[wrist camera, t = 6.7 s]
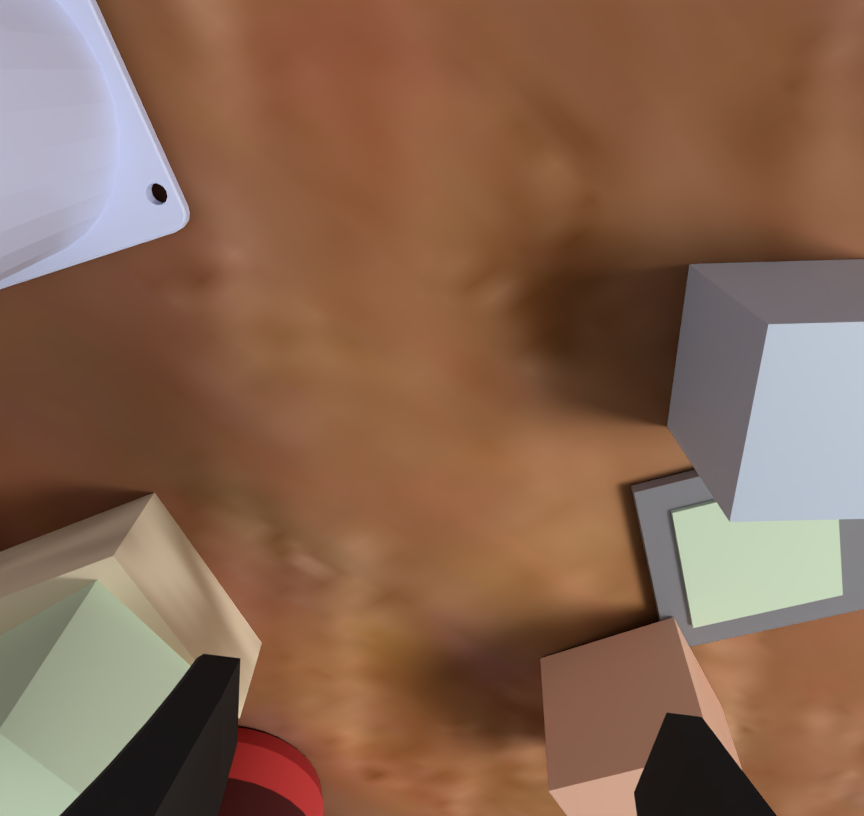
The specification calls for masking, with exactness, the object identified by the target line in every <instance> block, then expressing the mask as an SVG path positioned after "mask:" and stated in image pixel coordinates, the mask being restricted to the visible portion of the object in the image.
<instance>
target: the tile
mask: <svg viewBox="0 0 864 816" xmlns="http://www.w3.org/2000/svg"><path fill="white" fill-rule="evenodd" d="M631 490H632V495H633V499H634V504H635V509H636V514H637V518H638V523H639V528H640V533H641V537H642V542H643V547H644V552H645V556H646V561H647V566H648V571H649V575H650V580H651V585H652V590H653V595H654V599H655V604H656V609H657V614H658V618H659V622H660V621H663V620H666V619H669V618H672V617H674V619H675V621H676V622H677V624H678V626H679V628H680V630H681V632H682V634H683V636H684V637H685V639H686V641H687V643H688V645H689V647H691V646H696V645H700V644H705V643H709V642H714V641H719V640H723V639H728V638H732V637H737V636H742V635H746V634H751V633H755V632H760V631H765V630H769V629H774V628H778V627H783V626H788V625H792V624H797V623H801V622H806V621H810V620H815V619H820V618H824V617H829V616H833V615H838V614H843V613H847V612H852V611H856V610H861V609H864V519H836V520H793V521H751V522H729V520H728V519H727V517H726V516H725V514H724V513H723V511H722V510H721V508H720V507H719V505H718V504H717V502H716V501H715V499H714V497H713V496H712V494H711V493H710V491H709V490H708V488H707V487H706V485H705V484H704V482H703V481H702V479H701V478H700V476H699V475H698V473H697V472H696V470H692V471H688V472H684V473H680V474H676V475H672V476H668V477H664V478H660V479H656V480H652V481H648V482H644V483H640V484H636V485H632V486H631Z"/></svg>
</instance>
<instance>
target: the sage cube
mask: <svg viewBox="0 0 864 816" xmlns="http://www.w3.org/2000/svg"><path fill="white" fill-rule="evenodd" d="M189 668H190V665H189V664H188V663H187V662H186V661H185V660H184V659H183V658H182V657H180V656H179V655H178V654H177V653H176V652H175V651H174V650H173V649H172V648H171V647H170V646H169V645H167V644H166V643H165V642H164V641H163V640H162V639H161V638H160V637H159V636H158V635H157V634H156V633H154V632H153V631H152V630H151V629H150V628H149V627H148V626H147V625H146V624H145V623H144V622H143V621H142V620H140V619H139V618H138V617H137V616H136V615H135V614H134V613H133V612H132V611H131V610H130V609H129V608H127V607H126V606H125V605H124V604H123V603H122V602H121V601H120V600H119V599H118V598H117V597H116V596H114V595H113V594H112V593H111V592H110V591H109V590H108V589H107V588H106V587H105V586H104V585H103V584H102V583H100V582H99V581H98V580H96V581H94V582H92V583H91V584H89V585H87V586H85V587H84V588H82V589H80V590H79V591H77V592H75V593H73V594H72V595H70V596H68V597H66V598H65V599H63V600H61V601H60V602H58V603H56V604H54V605H53V606H51V607H49V608H47V609H46V610H44V611H42V612H41V613H39V614H37V615H35V616H34V617H32V618H30V619H28V620H27V621H25V622H23V623H22V624H20V625H18V626H16V627H15V628H13V629H11V630H9V631H8V632H6V633H4V634H3V635H1V636H0V816H60V815H61V813H62V812H63V811H64V810H65V809H66V808H67V807H68V806H69V805H70V804H71V803H72V802H73V801H74V800H75V799H76V798H77V797H78V796H79V795H80V794H81V793H82V792H83V791H84V790H85V789H86V788H87V787H88V786H89V785H90V784H91V783H92V782H93V781H94V780H95V779H96V777H97V776H98V775H99V774H100V773H101V772H102V771H103V770H104V769H105V768H106V767H107V766H108V765H109V764H110V763H111V761H112V760H113V759H114V758H115V757H116V756H117V755H118V754H119V752H120V751H121V750H122V749H123V748H124V747H125V746H126V744H127V743H128V742H129V741H130V740H131V739H132V738H133V737H134V735H135V734H136V733H137V732H138V731H139V730H140V729H141V728H142V726H143V725H144V724H145V723H146V722H147V721H148V719H149V718H150V717H151V716H152V715H153V713H154V712H155V711H156V710H157V709H158V707H159V706H160V705H161V704H162V703H163V701H164V700H165V699H166V698H167V696H168V695H169V694H170V693H171V691H172V690H173V689H174V688H175V686H176V685H177V684H178V682H179V681H180V680H181V678H182V677H183V676H184V675H185V673H186V672H187V671H188V669H189Z"/></svg>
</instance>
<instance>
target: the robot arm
mask: <svg viewBox="0 0 864 816" xmlns="http://www.w3.org/2000/svg"><path fill="white" fill-rule="evenodd" d="M154 183H157V184H159V185H161V186H163V187H164V189H165V190H166V192H167V200H166V202H160V201H158V200H156V199H155V197H154V196H153V194H152V190H151V189H152V186H153V184H154ZM189 216H190V212H189V208H188V204H187V202H186V200H185V198H184V196H183V193H182V191H181V189H180V187H179V184H178V182H177V180H176V178H175V176H174V173H173V171H172V169H171V167H170V164H169V162H168V160H167V158H166V156H165V153H164V151H163V149H162V147H161V144H160V142H159V140H158V138H157V136H156V133H155V131H154V129H153V127H152V124H151V122H150V120H149V118H148V116H147V113H146V111H145V109H144V107H143V104H142V102H141V100H140V98H139V96H138V93H137V91H136V89H135V87H134V84H133V82H132V80H131V78H130V76H129V73H128V71H127V69H126V67H125V64H124V62H123V60H122V58H121V56H120V53H119V51H118V49H117V47H116V44H115V42H114V40H113V38H112V36H111V33H110V31H109V29H108V27H107V24H106V22H105V20H104V18H103V16H102V13H101V11H100V9H99V7H98V4H97V2H96V0H0V289H2V288H6V287H9V286H12V285H15V284H18V283H21V282H24V281H27V280H30V279H33V278H36V277H39V276H42V275H45V274H49V273H52V272H55V271H58V270H61V269H64V268H67V267H70V266H73V265H76V264H79V263H82V262H85V261H89V260H92V259H95V258H98V257H101V256H104V255H107V254H110V253H113V252H116V251H119V250H122V249H125V248H129V247H132V246H135V245H138V244H141V243H144V242H147V241H150V240H153V239H156V238H159V237H162V236H165V235H169V234H172V233H175V232H177V231H178V230H180V229H182V228H183V227H185V226H186V224H187V222H188V221H189ZM239 684H240V658H234V657H226V656H218V655H210V654H202V655H201V656H199V657H197V658H196V660H195V661H194V662H193V664H192V665H191V666H190V668H189V669H188V671H187V672H186V673H185V675H184V676H183V677H182V678H181V680H180V681H179V682H178V684H177V685H176V686H175V688H174V689H173V690H172V691H171V693H170V694H169V695H168V696H167V698H166V699H165V700H164V701H163V703H162V704H161V705H160V706H159V707H158V709H157V710H156V711H155V712H154V713H153V715H152V716H151V717H150V718H149V719H148V721H147V722H146V723H145V724H144V725H143V726H142V728H141V729H140V730H139V731H138V732H137V733H136V734H135V735H134V737H133V738H132V739H131V740H130V741H129V742H128V743H127V744H126V746H125V747H124V748H123V749H122V750H121V751H120V752H119V754H118V755H117V756H116V757H115V758H114V759H113V760H112V761H111V763H110V764H109V765H108V766H107V767H106V768H105V769H104V770H103V771H102V772H101V773H100V774H99V775H98V776H97V777H96V779H95V780H94V781H93V782H92V783H91V784H90V785H89V786H88V787H87V788H86V789H85V790H84V791H83V792H82V793H81V794H80V795H79V796H78V797H77V798H76V799H75V800H74V801H73V802H72V803H71V804H70V805H69V806H68V807H67V808H66V809H65V810H64V811H63V812H62V813H61V815H60V816H217V815H218V812H219V809H220V806H221V802H222V799H223V795H224V791H225V788H226V784H227V781H228V777H229V773H230V769H231V766H232V762H233V758H234V754H235V751H236V747H237V737H238V711H239ZM634 798H635V805H636V812H637V816H776V814H775V813H774V812H773V810H772V809H771V808H770V807H769V805H768V804H767V803H766V801H765V800H764V799H763V797H762V796H761V795H760V793H759V792H758V791H757V790H756V788H755V787H754V786H753V784H752V783H751V782H750V780H749V779H748V778H747V776H746V775H745V774H744V772H743V771H742V770H741V768H740V767H739V766H738V764H737V763H736V762H735V760H734V759H733V758H732V756H731V755H730V754H729V752H728V751H727V750H726V748H725V747H724V746H723V744H722V743H721V742H720V740H719V739H718V738H717V736H716V735H715V734H714V732H713V731H712V730H711V728H710V727H709V726H708V724H707V723H706V722H705V720H704V719H703V718H702V717H698V716H690V715H683V714H675V713H666V715H665V718H664V720H663V722H662V725H661V727H660V730H659V732H658V735H657V737H656V740H655V742H654V744H653V747H652V749H651V752H650V754H649V757H648V759H647V762H646V764H645V767H644V769H643V771H642V774H641V776H640V779H639V781H638V784H637V786H636V789H635V791H634Z"/></svg>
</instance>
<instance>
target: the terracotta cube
mask: <svg viewBox="0 0 864 816" xmlns="http://www.w3.org/2000/svg"><path fill="white" fill-rule="evenodd" d="M540 662H541V677H542V693H543V709H544V725H545V740H546V756H547V772H548V787H549V792H550V793H551V795H552V796H553V797H554V799H555V800H556V801H557V803H558V804H559V805H560V807H561V808H562V809H563V811H564V812H565V813H566V815H567V816H637V812H636V805H635V798H634V791H635V789H636V786H637V784H638V781H639V779H640V776H641V774H642V771H643V769H644V767H645V764H646V762H647V759H648V757H649V754H650V752H651V749H652V747H653V744H654V742H655V740H656V737H657V735H658V732H659V730H660V727H661V725H662V722H663V720H664V718H665V715H666V713H675V714H683V715H690V716H698V717H702V718H703V719H704V720H705V722H706V723H707V724H708V726H709V727H710V728H711V730H712V731H713V732H714V734H715V735H716V736H717V738H718V739H719V740H720V742H721V743H722V744H723V746H724V747H725V748H726V750H727V751H728V752H729V754H730V755H731V756H732V758H733V759H734V760H735V762H736V763H737V764H738V766H739V767H740V768H741V765H740V762H739V759H738V756H737V753H736V750H735V746H734V743H733V740H732V737H731V734H730V731H729V728H728V725H727V722H726V719H725V716H724V713H723V710H722V707H721V705H720V703H719V701H718V699H717V697H716V695H715V694H714V692H713V690H712V688H711V686H710V684H709V682H708V680H707V679H706V677H705V675H704V673H703V671H702V669H701V667H700V665H699V664H698V662H697V660H696V658H695V656H694V654H693V652H692V651H691V649H690V647H689V645H688V643H687V641H686V639H685V637H684V636H683V634H682V632H681V630H680V628H679V626H678V624H677V622H676V621H675V619H674V617H672V618H669V619H666V620H663V621H660V622H656V623H653V624H650V625H647V626H643V627H640V628H637V629H634V630H631V631H627V632H624V633H621V634H618V635H614V636H611V637H608V638H605V639H602V640H598V641H595V642H592V643H589V644H585V645H582V646H579V647H576V648H572V649H569V650H566V651H563V652H560V653H556V654H553V655H550V656H547V657H543V658H540ZM741 770H742V768H741Z"/></svg>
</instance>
